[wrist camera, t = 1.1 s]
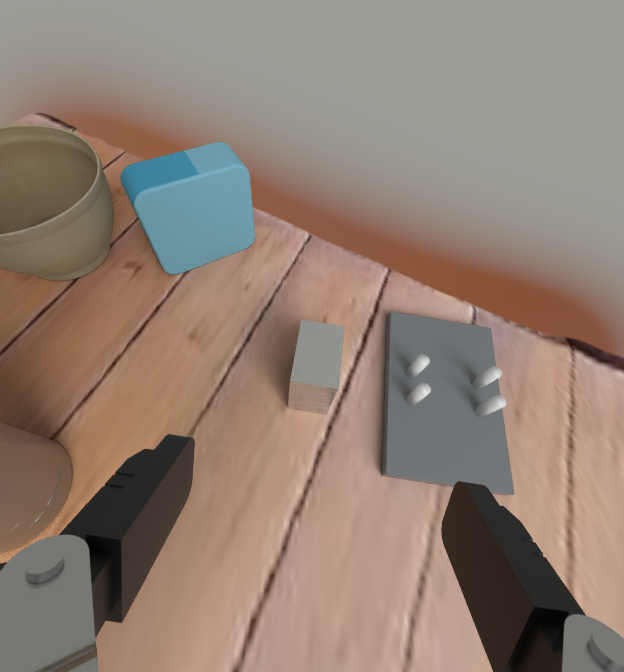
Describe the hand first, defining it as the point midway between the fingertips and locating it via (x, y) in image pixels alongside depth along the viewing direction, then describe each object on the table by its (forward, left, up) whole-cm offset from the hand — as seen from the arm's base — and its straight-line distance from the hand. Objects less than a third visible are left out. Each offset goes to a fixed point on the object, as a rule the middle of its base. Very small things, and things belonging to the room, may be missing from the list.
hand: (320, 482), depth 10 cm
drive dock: (+14, +13, -23) cm, 30 cm away
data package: (-16, +28, -23) cm, 39 cm away
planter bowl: (-32, +24, -23) cm, 46 cm away
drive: (0, +12, -23) cm, 26 cm away
